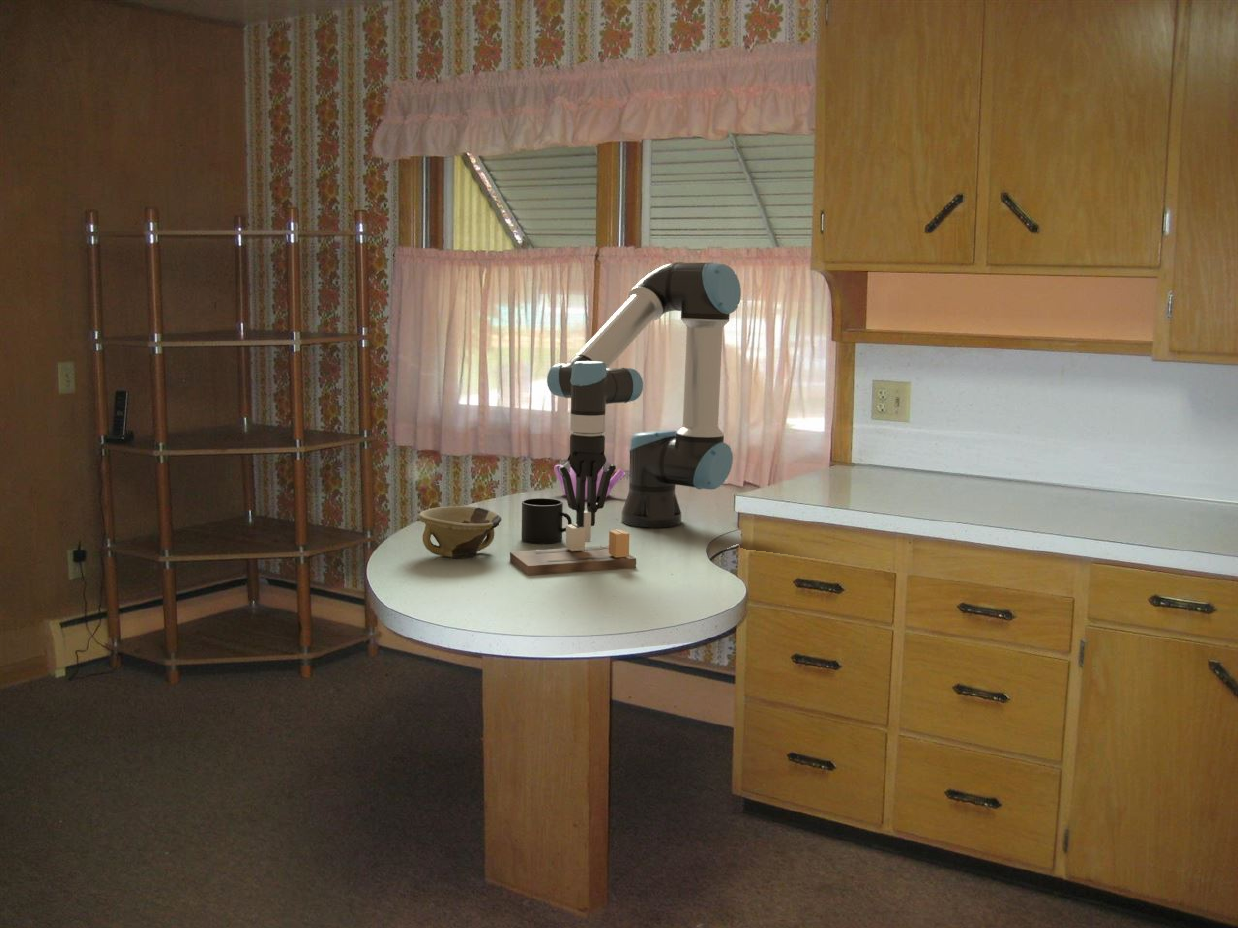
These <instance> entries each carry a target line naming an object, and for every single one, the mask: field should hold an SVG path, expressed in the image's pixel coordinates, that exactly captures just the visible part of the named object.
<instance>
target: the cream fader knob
mask: <svg viewBox="0 0 1238 928" xmlns="http://www.w3.org/2000/svg"><path fill="white" fill-rule="evenodd" d="M565 528H566V531H565V548H568V549H569V550H571V551H582V550H585V547H586V542H585V527H579V526H577V524H576V523H572V524H570V525H568V524H565Z"/></svg>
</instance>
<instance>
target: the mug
mask: <svg viewBox="0 0 1238 928" xmlns="http://www.w3.org/2000/svg"><path fill="white" fill-rule="evenodd" d="M563 505H564V504H563V501H562V500H559V499H556V498H555V499H554V498H547V497H546V498H545V497H544V498H543V497H542V498H541V497H539V498H537V497H536V498H528V499H524V500H522V501H521V541H522V542H524V543H527V544H534V545H550V544H551V545H552V544H557V543H559V542H561V541H562V540H563V532H565V533H566V527H563V517H564V518H565V519H566V521H567V525H570V524H573V521H572V518H571V515H570V514H568V513H566V512H564V511H563V507H564V506H563Z"/></svg>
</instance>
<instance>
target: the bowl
mask: <svg viewBox="0 0 1238 928" xmlns="http://www.w3.org/2000/svg"><path fill="white" fill-rule="evenodd" d="M418 517H419V521H420V522H421V523H422V524H424V525H425V527H424V530H423V533H422V543H423V546H424V547H425V549H426V550H428V551H429V552H430V553H432V554H434V555H437V556H441V557H442V556H443V557H447V558H452V559H453V558H454V559H467V558H471V557H473V556H475V555H476V554H477V552H480V551H482V550H485V549H486V548H488V547H490V545H491V544H492V543H493V541H494V539H495V528H497V527H498V526H500V523H501V521H502V517H501V515H499V514H498V513H497V512H494V511H493V510H489V509H487V508H481V507H478V506H469V505H459V506H457V505H456V506H454V505H453V506H439V507H434V508H433V507H432V508H429V509H426V510H422V511H420V512H419V513H418ZM432 536H433V537H434V539H435V541H436V542H437V543H438V545H436V544H434V543H433V542H432V541H431V537H432Z"/></svg>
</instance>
